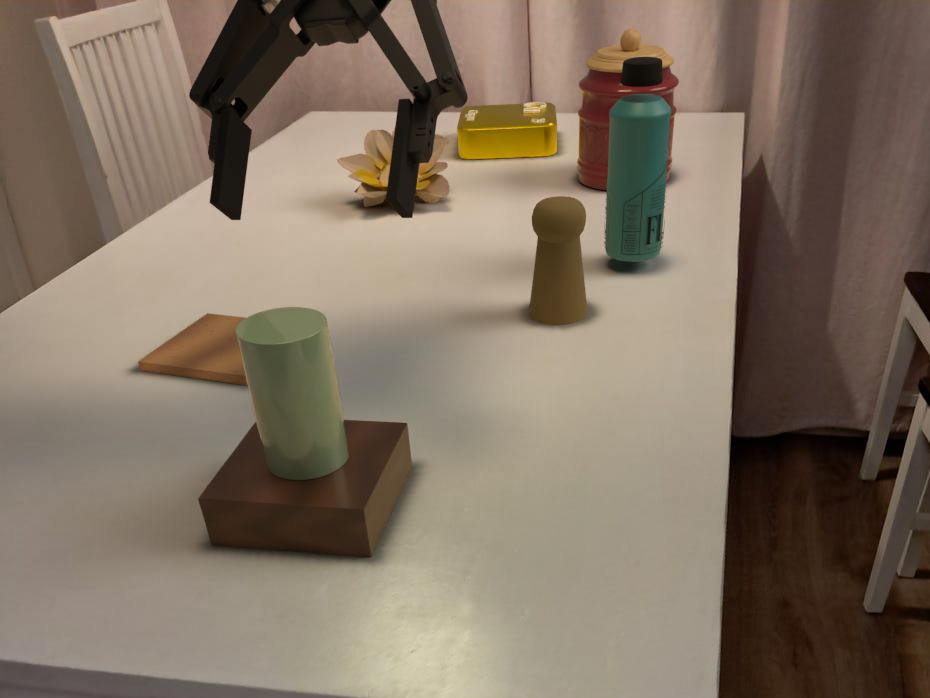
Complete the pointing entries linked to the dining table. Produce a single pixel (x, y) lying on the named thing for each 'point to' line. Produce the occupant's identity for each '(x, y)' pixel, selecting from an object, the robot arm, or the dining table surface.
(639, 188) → the beverage bottle
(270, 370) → the sage cup
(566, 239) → the pepper shaker
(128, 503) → the dining table surface
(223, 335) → the wooden trivet
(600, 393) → the dining table surface
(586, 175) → the kitchen canister
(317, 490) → the walnut block
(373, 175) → the decorative flower
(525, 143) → the element tile
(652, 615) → the dining table surface
